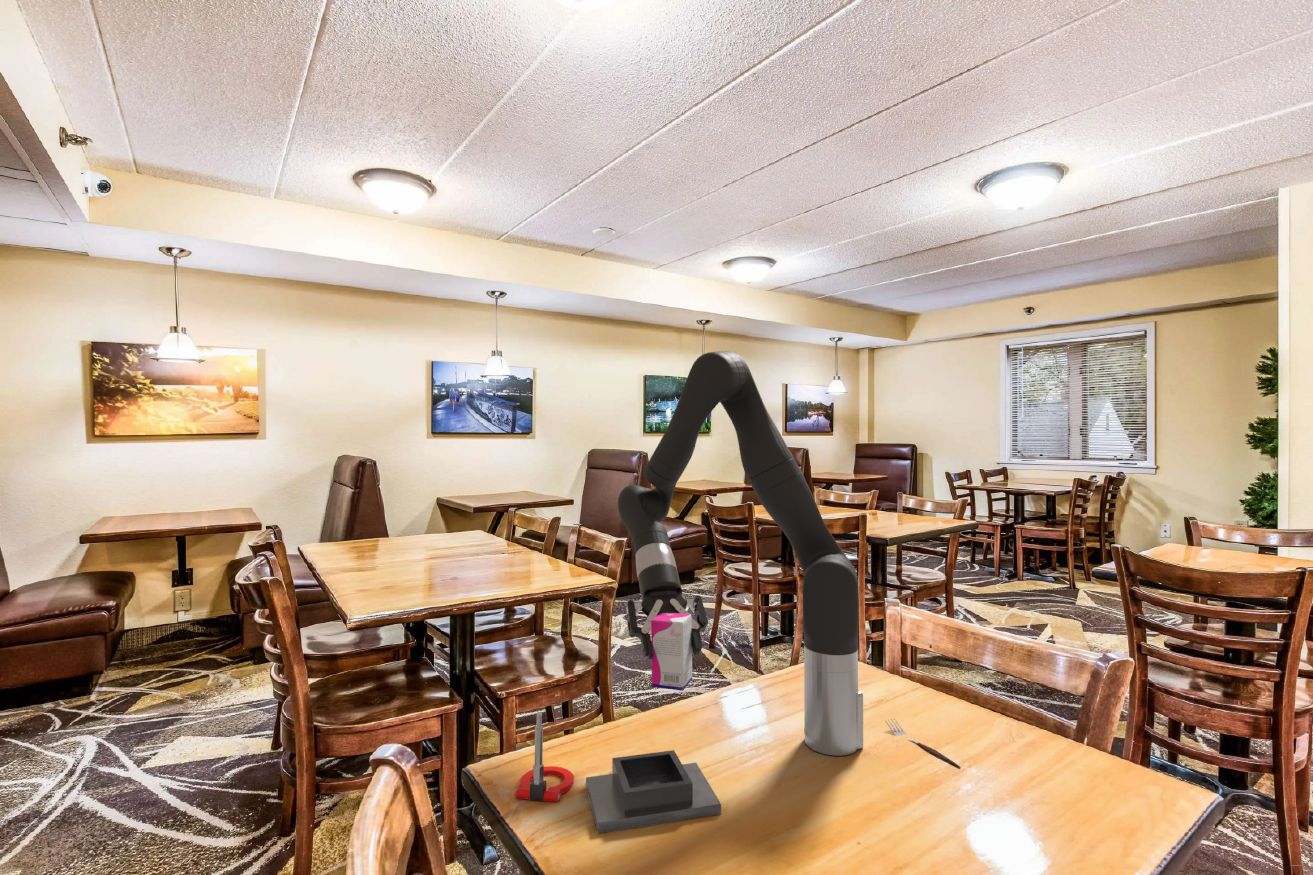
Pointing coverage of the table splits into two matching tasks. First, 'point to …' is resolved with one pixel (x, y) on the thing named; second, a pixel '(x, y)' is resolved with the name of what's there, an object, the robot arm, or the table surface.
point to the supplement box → (671, 650)
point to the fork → (921, 744)
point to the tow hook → (538, 785)
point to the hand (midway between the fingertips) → (674, 655)
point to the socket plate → (649, 792)
